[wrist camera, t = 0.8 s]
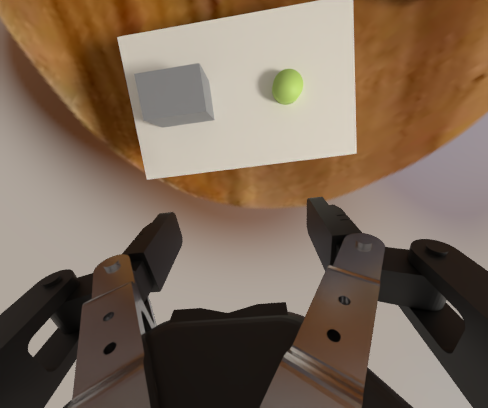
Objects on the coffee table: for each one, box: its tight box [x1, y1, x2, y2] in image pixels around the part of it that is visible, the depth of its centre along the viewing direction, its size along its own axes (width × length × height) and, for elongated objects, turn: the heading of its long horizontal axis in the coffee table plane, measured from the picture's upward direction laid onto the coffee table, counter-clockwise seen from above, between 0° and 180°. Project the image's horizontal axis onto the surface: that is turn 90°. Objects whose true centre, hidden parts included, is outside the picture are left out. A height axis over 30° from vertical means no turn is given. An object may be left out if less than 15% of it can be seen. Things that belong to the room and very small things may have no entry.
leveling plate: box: [117, 0, 357, 180], centre depth 22 cm, size 15×24×7 cm, turn 97°
